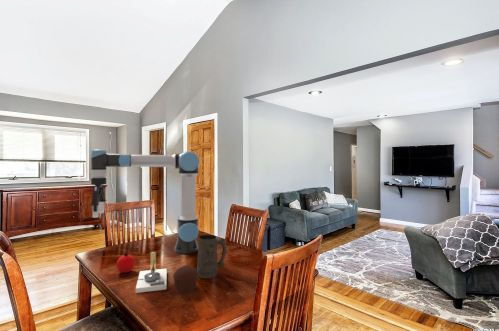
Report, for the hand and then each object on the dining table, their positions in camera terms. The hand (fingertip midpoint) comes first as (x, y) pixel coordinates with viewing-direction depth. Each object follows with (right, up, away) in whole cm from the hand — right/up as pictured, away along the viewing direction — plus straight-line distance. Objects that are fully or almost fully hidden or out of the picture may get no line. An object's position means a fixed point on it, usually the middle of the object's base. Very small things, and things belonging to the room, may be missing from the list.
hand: (98, 215), depth 150 cm
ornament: (+20, -29, -9) cm, 36 cm away
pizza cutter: (+37, -26, -19) cm, 50 cm away
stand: (+38, -29, -20) cm, 51 cm away
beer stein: (+65, -29, -10) cm, 72 cm away
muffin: (+55, -29, -27) cm, 68 cm away
